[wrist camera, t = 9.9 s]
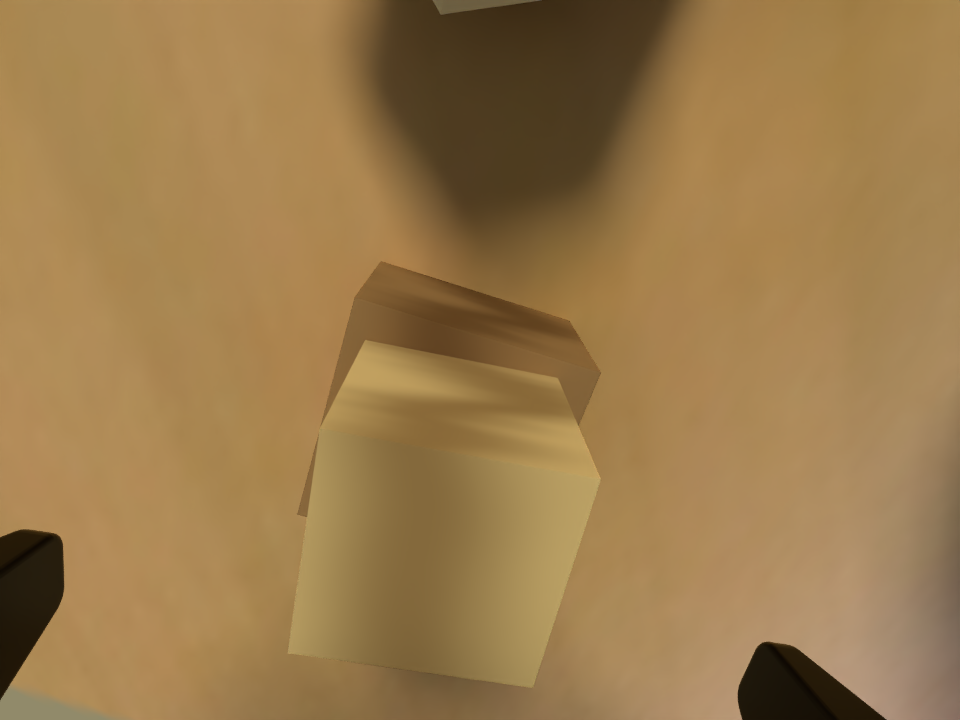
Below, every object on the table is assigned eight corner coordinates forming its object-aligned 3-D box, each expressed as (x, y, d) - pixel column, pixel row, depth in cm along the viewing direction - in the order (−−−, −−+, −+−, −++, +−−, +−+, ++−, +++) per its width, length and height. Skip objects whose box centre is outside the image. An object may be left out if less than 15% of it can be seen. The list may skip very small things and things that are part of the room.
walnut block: (568, 319, 20) (600, 372, 15) (505, 479, 22) (517, 570, 17) (381, 260, 19) (354, 297, 14) (334, 432, 21) (297, 514, 16)
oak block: (557, 377, 15) (600, 479, 11) (512, 537, 17) (532, 687, 12) (365, 339, 15) (319, 428, 10) (337, 508, 16) (287, 653, 12)
